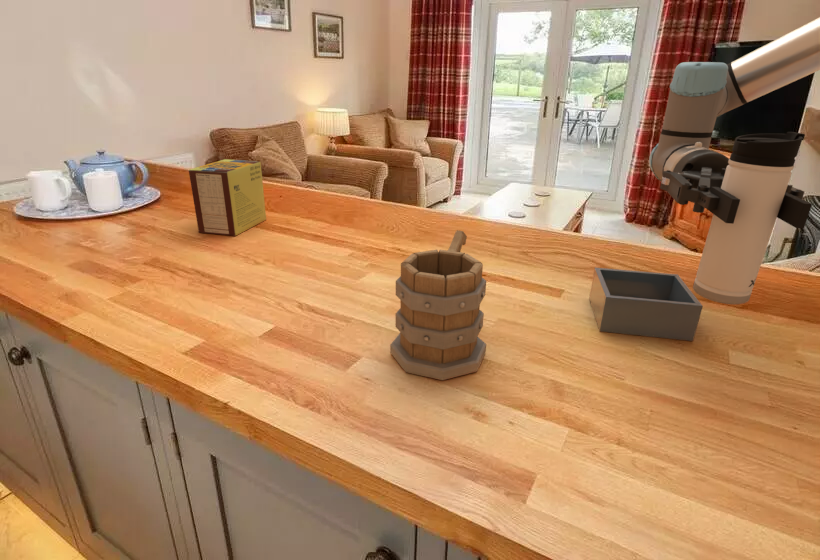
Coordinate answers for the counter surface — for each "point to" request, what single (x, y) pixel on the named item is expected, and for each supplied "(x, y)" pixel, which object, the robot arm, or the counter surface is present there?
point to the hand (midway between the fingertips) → (767, 213)
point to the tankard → (440, 313)
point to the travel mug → (746, 215)
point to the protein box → (228, 196)
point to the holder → (644, 304)
